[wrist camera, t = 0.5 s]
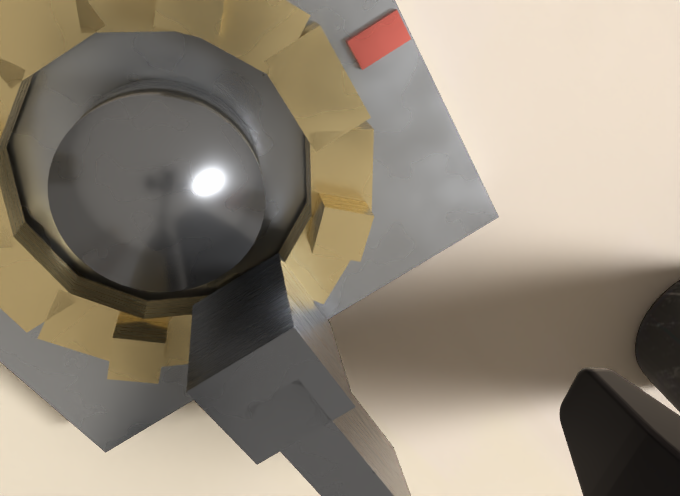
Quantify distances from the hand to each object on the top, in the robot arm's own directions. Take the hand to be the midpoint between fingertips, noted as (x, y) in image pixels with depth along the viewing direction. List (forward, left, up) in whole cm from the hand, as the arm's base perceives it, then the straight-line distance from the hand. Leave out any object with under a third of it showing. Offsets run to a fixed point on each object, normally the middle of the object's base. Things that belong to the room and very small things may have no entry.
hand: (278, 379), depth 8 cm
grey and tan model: (-3, -3, -12) cm, 13 cm away
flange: (-3, 0, -15) cm, 15 cm away
